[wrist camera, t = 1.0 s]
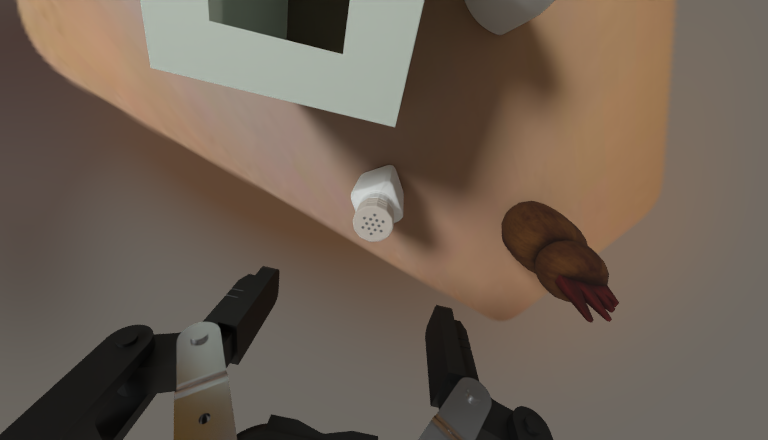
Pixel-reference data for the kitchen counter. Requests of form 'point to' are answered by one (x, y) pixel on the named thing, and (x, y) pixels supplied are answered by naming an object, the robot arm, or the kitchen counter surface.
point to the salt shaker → (377, 203)
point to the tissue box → (289, 52)
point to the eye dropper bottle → (505, 13)
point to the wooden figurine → (558, 257)
